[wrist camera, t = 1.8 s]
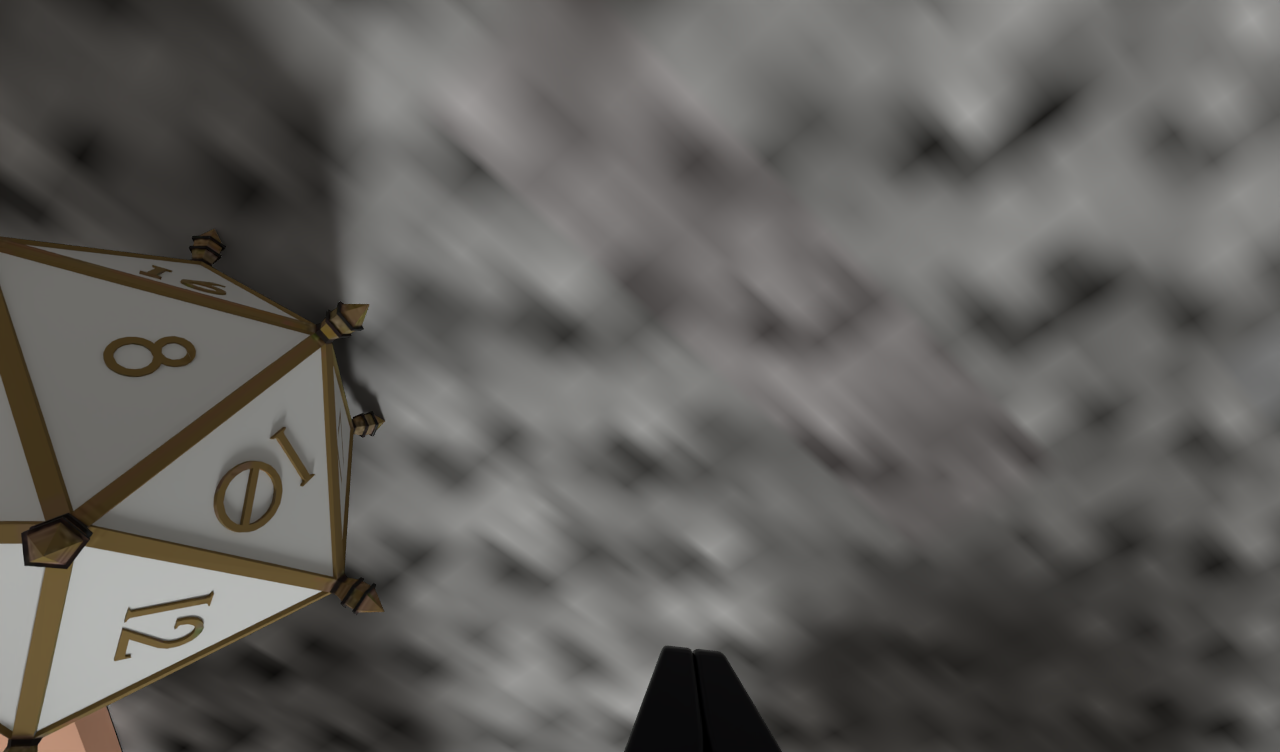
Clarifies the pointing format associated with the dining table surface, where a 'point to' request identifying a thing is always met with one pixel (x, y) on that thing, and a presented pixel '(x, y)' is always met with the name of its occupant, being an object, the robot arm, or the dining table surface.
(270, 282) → the dining table surface
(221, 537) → the game die
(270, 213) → the dining table surface
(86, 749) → the tile
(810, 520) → the dining table surface
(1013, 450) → the dining table surface
